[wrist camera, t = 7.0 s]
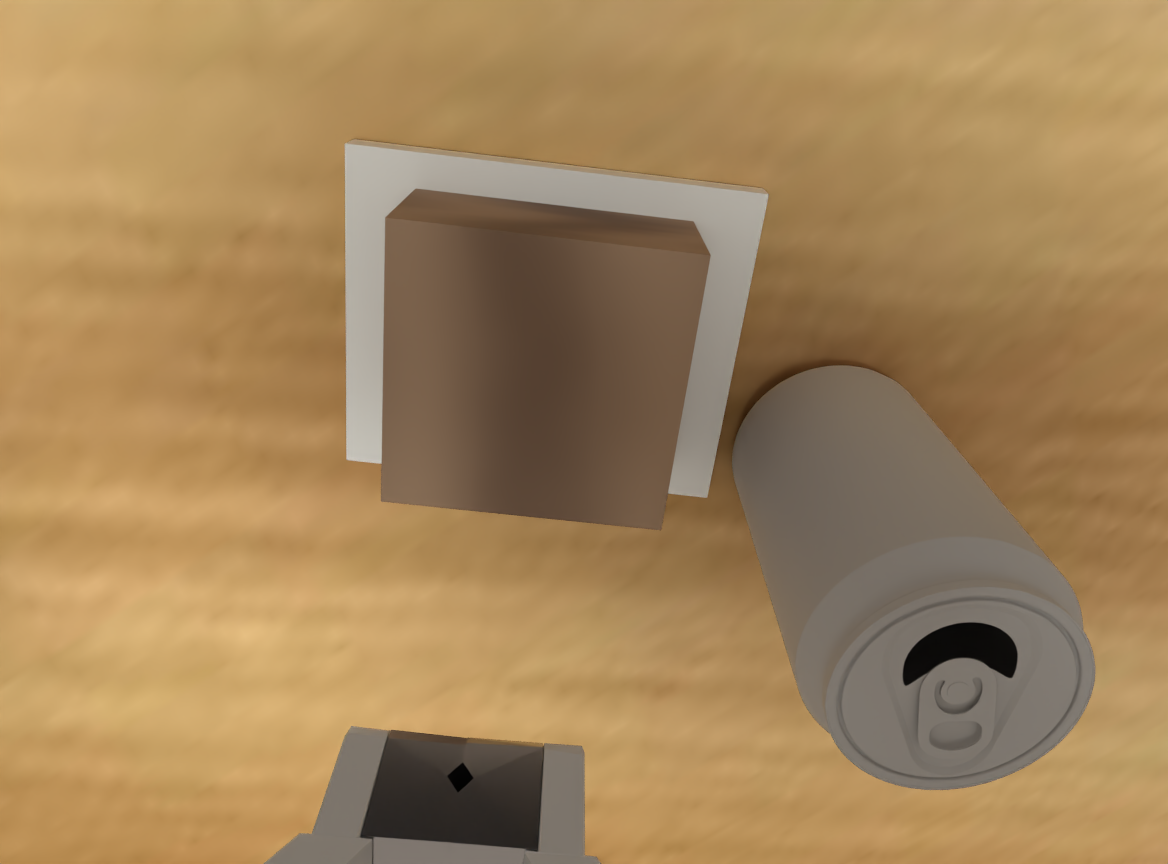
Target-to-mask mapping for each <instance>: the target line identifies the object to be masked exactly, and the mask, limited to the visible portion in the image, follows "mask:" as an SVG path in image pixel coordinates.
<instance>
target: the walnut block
mask: <svg viewBox="0 0 1168 864" xmlns="http://www.w3.org/2000/svg"><path fill="white" fill-rule="evenodd" d="M710 257H711V255H710V253H709V251H708V249H707V247H706V245H705V243H704V241H703V239H702V237H701V235H700V233H699V231H698V229H697V227H696V225H695V223H694V221H687V220H678V219H670V218H661V217H653V216H645V215H636V214H628V213H619V212H611V211H602V210H594V209H585V208H577V207H568V206H560V205H551V204H543V203H535V202H526V201H518V200H509V199H501V198H492V197H484V196H475V195H467V194H458V193H450V192H441V191H433V190H425V189H415V190H414V191H412V192H411V193H410V194H409V195H408V196H407V197H406V198H405V199H404V200H403V201H402V202H401V203H400V204H399V205H398V206H397V207H396V208H395V209H394V210H392V211H391V212H390V213H389V214H388V215H387V216H386V217H385V263H384V331H383V400H382V468H381V501H382V502H391V503H401V504H411V505H421V506H430V507H440V508H450V509H459V510H469V511H479V512H489V513H498V514H508V515H518V516H528V517H537V518H547V519H557V520H566V521H576V522H586V523H596V524H605V525H615V526H625V527H634V528H644V529H654V530H661V529H662V523H663V518H664V512H665V507H666V501H667V495H668V490H669V484H670V479H671V473H672V468H673V462H674V457H675V451H676V446H677V440H678V434H679V429H680V423H681V418H682V412H683V407H684V401H685V396H686V390H687V385H688V379H689V373H690V368H691V362H692V357H693V351H694V346H695V340H696V335H697V329H698V324H699V318H700V312H701V307H702V301H703V296H704V290H705V285H706V279H707V274H708V268H709V263H710Z"/></svg>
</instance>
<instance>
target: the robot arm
mask: <svg viewBox="0 0 1168 864" xmlns="http://www.w3.org/2000/svg"><path fill="white" fill-rule="evenodd" d="M264 864H601V863H600V861H599V860H598V858H597V857H594V856H585V791H584V750H583V748H582V746H574V745H561V744H547V743H544V746H543V743H534V742H521V741H507V740H494V739H480V738H461V737H452V736H443V735H434V734H424V733H415V732H406V731H397V730H391V731H390V730H381V729H372V728H363V727H354V726H351V728H350V729H349V731H348V732H347V734H346V735H345V737H344V740H343V743H342V746H341V749H340V752H339V755H338V758H337V761H336V764H335V767H334V770H333V773H332V776H331V779H330V782H329V784H328V787H327V790H326V793H325V796H324V799H323V802H322V805H321V808H320V811H319V814H318V817H317V820H316V823H315V826H314V829H313V832H312V834H305V833H299V834H298V835H297V836H296V837H295V838H293V839H292V840H291V841H290V842H289V843H287V844H286V845H285V846H284V847H283V848H281V849H280V850H279V851H278V852H277V853H276V854H274V855H273V856H272V857H271V858H270V859H268V860H267V861H266V862H265V863H264Z"/></svg>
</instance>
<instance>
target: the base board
mask: <svg viewBox="0 0 1168 864" xmlns="http://www.w3.org/2000/svg"><path fill="white" fill-rule="evenodd" d="M415 189H425V190H433V191H441V192H450V193H458V194H467V195H475V196H484V197H492V198H501V199H509V200H518V201H526V202H535V203H543V204H551V205H560V206H568V207H577V208H585V209H594V210H602V211H611V212H619V213H628V214H636V215H645V216H653V217H661V218H670V219H678V220H687V221H694V223H695V225H696V227H697V229H698V231H699V233H700V235H701V237H702V239H703V241H704V243H705V245H706V247H707V249H708V251H709V253H710V255H711V257H710V263H709V268H708V274H707V279H706V285H705V290H704V296H703V301H702V307H701V312H700V318H699V324H698V329H697V335H696V340H695V346H694V351H693V357H692V362H691V368H690V373H689V379H688V385H687V390H686V396H685V401H684V407H683V412H682V418H681V423H680V429H679V434H678V440H677V446H676V451H675V457H674V462H673V468H672V473H671V479H670V484H669V490H668V494H676V495H686V496H695V497H705V498H707V496H708V491H709V486H710V481H711V476H712V472H713V467H714V462H715V457H716V452H717V447H718V442H719V437H720V432H721V427H722V422H723V417H724V413H725V408H726V403H727V398H728V393H729V388H730V383H731V378H732V373H733V368H734V363H735V359H736V354H737V349H738V344H739V339H740V334H741V329H742V324H743V319H744V314H745V309H746V304H747V300H748V295H749V290H750V285H751V280H752V275H753V270H754V265H755V260H756V255H757V250H758V245H759V241H760V236H761V231H762V226H763V221H764V216H765V211H766V206H767V201H768V196H769V194H768V193H767V192H766V191H765V190H764V189H763V188H757V187H749V186H741V185H732V184H724V183H716V182H707V181H699V180H691V179H682V178H674V177H666V176H658V175H649V174H641V173H633V172H624V171H616V170H608V169H599V168H591V167H583V166H574V165H566V164H558V163H549V162H541V161H533V160H524V159H516V158H508V157H499V156H491V155H483V154H475V153H466V152H458V151H450V150H441V149H433V148H425V147H416V146H408V145H400V144H391V143H383V142H375V141H366V140H358V139H353V140H351V141H349V142H347V143H345V261H346V453H347V460H351V461H361V462H371V463H380V464H382V400H383V331H384V263H385V217H386V216H387V215H388V214H389V213H390V212H391V211H392V210H394V209H395V208H396V207H397V206H398V205H399V204H400V203H401V202H402V201H403V200H404V199H405V198H406V197H407V196H408V195H409V194H410V193H411V192H412V191H414V190H415Z"/></svg>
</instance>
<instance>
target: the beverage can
mask: <svg viewBox="0 0 1168 864" xmlns="http://www.w3.org/2000/svg"><path fill="white" fill-rule="evenodd" d="M732 469H733V476H734V480H735V484H736V487H737V491H738V494H739V497H740V500H741V504H742V507H743V510H744V513H745V517H746V520H747V523H748V526H749V530H750V533H751V536H752V539H753V543H754V546H755V549H756V553H757V556H758V559H759V562H760V566H761V569H762V572H763V575H764V579H765V582H766V585H767V588H768V592H769V595H770V598H771V601H772V605H773V608H774V611H775V615H776V618H777V621H778V624H779V628H780V631H781V634H782V637H783V641H784V644H785V647H786V650H787V654H788V657H789V660H790V663H791V667H792V670H793V673H794V676H795V680H796V683H797V686H798V690H799V693H800V695H801V698H802V700H803V702H804V704H805V706H806V708H807V709H808V711H809V712H810V714H811V715H812V716H813V718H814V719H815V720H816V721H817V722H818V723H819V725H821V726H822V727H823V728H824V729H825V730H826V731H827V732H828V733H830V734H831V736H832V738H833V740H834V741H835V743H836V745H837V746H838V748H839V749H840V751H841V752H842V753H843V754H844V755H845V756H846V757H847V758H848V759H849V760H850V761H851V762H852V763H853V764H854V765H856V766H857V767H858V768H860V769H861V770H863V771H864V772H866V773H868V774H870V775H872V776H874V777H876V778H878V779H880V780H883V781H885V782H888V783H892V784H895V785H899V786H903V787H908V788H915V789H923V790H949V789H958V788H966V787H971V786H976V785H980V784H984V783H988V782H991V781H994V780H997V779H1000V778H1002V777H1005V776H1007V775H1010V774H1012V773H1014V772H1016V771H1018V770H1021V769H1023V768H1024V767H1026V766H1028V765H1030V764H1032V763H1033V762H1035V761H1036V760H1038V759H1039V758H1041V757H1042V756H1044V755H1045V754H1046V753H1048V752H1049V751H1050V750H1052V749H1053V748H1054V747H1055V746H1056V745H1057V744H1059V743H1060V742H1061V741H1062V740H1063V739H1064V738H1065V737H1066V735H1067V734H1068V733H1069V732H1070V731H1071V730H1072V729H1073V727H1074V726H1075V724H1076V723H1077V722H1078V720H1079V719H1080V717H1081V716H1082V714H1083V712H1084V710H1085V708H1086V706H1087V704H1088V702H1089V699H1090V696H1091V694H1092V690H1093V686H1094V681H1095V661H1094V655H1093V651H1092V647H1091V645H1090V642H1089V640H1088V638H1087V636H1086V634H1085V632H1084V631H1083V620H1082V614H1081V609H1080V605H1079V602H1078V600H1077V597H1076V595H1075V593H1074V591H1073V589H1072V587H1071V586H1070V584H1069V583H1068V582H1067V580H1066V579H1065V578H1064V576H1063V575H1062V574H1061V573H1060V571H1059V570H1058V569H1057V568H1056V567H1055V565H1054V564H1053V563H1052V562H1051V561H1050V560H1049V558H1048V557H1047V556H1046V555H1045V554H1044V552H1043V551H1042V550H1041V549H1040V548H1039V546H1038V545H1037V544H1036V543H1035V542H1034V541H1033V539H1032V538H1031V537H1030V536H1029V535H1028V533H1027V532H1026V531H1025V530H1024V529H1023V527H1022V526H1021V525H1020V524H1019V523H1018V521H1017V520H1016V519H1015V518H1014V517H1013V516H1012V514H1011V513H1010V512H1009V511H1008V510H1007V508H1006V507H1005V506H1004V505H1003V504H1002V502H1001V501H1000V500H999V499H998V498H997V497H996V495H995V494H994V493H993V492H992V491H991V489H990V488H989V487H988V486H987V485H986V483H985V482H984V481H983V480H982V479H981V477H980V476H979V475H978V474H977V473H976V472H975V470H974V469H973V468H972V467H971V466H970V464H969V463H968V462H967V461H966V460H965V458H964V457H963V456H962V455H961V454H960V453H959V451H958V450H957V449H956V448H955V447H954V445H953V444H952V443H951V442H950V441H949V439H948V438H947V437H946V436H945V435H944V433H943V432H942V431H941V430H940V429H939V428H938V426H937V425H936V424H935V423H934V422H933V420H932V419H931V418H930V417H929V416H928V414H927V413H926V412H925V411H924V410H923V409H922V407H921V406H920V405H919V404H918V403H917V401H916V400H915V399H914V398H913V397H912V395H911V394H910V393H909V392H908V391H907V390H906V389H905V388H903V387H902V386H901V385H900V384H899V383H897V382H896V381H894V380H893V379H891V378H889V377H887V376H885V375H882V374H880V373H878V372H876V371H873V370H870V369H867V368H862V367H856V366H848V365H834V366H825V367H819V368H814V369H810V370H807V371H804V372H801V373H798V374H796V375H794V376H792V377H790V378H788V379H786V380H784V381H782V382H781V383H779V384H778V385H776V386H775V387H773V388H772V389H771V390H769V391H768V392H767V393H766V394H764V395H763V396H762V397H761V398H760V399H759V400H758V401H757V402H756V404H755V405H754V406H753V407H752V408H751V410H750V411H749V413H748V414H747V416H746V417H745V419H744V420H743V422H742V424H741V426H740V428H739V431H738V433H737V436H736V439H735V443H734V447H733V455H732Z"/></svg>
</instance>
